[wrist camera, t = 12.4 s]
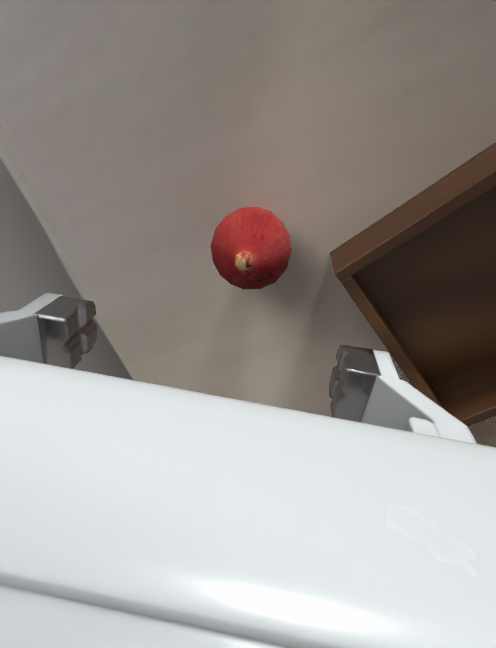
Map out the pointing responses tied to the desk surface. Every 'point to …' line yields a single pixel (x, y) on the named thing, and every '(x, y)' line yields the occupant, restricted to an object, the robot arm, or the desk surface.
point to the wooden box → (435, 287)
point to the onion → (251, 248)
